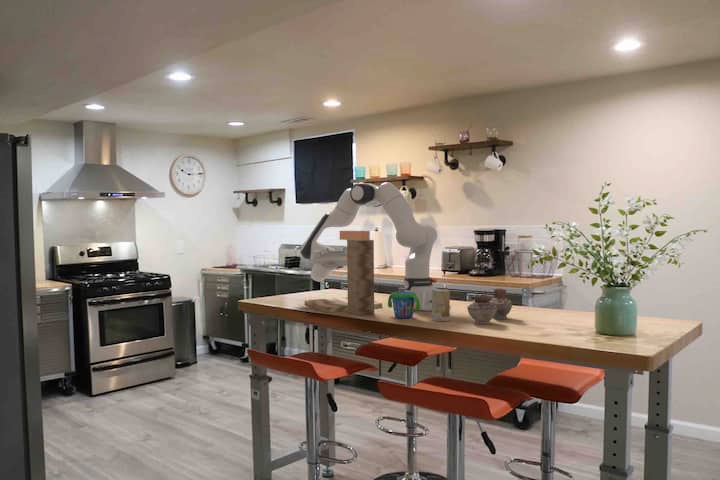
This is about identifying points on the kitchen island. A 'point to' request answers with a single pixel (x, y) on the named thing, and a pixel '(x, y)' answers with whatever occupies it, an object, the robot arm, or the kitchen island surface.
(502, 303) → the pottery
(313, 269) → the robot arm
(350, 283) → the walnut stand
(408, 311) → the snack cup
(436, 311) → the skincare box
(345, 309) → the oak base board
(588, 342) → the kitchen island surface
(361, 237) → the terracotta rail
